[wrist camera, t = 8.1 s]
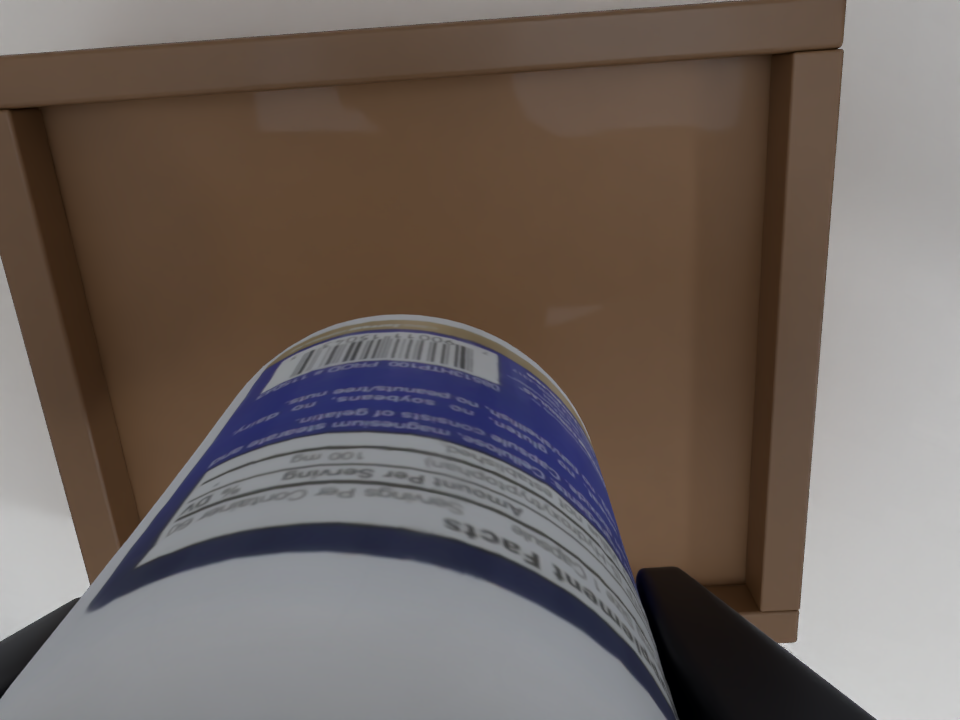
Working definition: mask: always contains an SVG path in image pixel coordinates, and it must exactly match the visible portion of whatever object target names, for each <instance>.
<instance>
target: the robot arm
mask: <svg viewBox="0 0 960 720" xmlns="http://www.w3.org/2000/svg"><path fill="white" fill-rule="evenodd" d="M636 587H637V591H638V594H639V597H640V601H641V604H642V607H643V609H644V611H645V614H646V617H647V620H648V623H649V626H650V629H651V632H652V635H653V638H654V641H655V644H656V647H657V651H658V655H659V659H660V662H661V666H662V669H663V672H664V676H665V679H666V681H667V684H668V686H669V689H670V692H671V696H672V699H673V702H674V706H675V709H676V712H677V715H678V718H679V720H876V719H875V718H874V717H873V716H871V715H870V714H869V713H867V712H866V711H865V710H864V709H862V708H861V707H860V706H858V705H857V704H856V703H854V702H853V701H852V700H851V699H849V698H848V697H847V696H845V695H844V694H843V693H841V692H840V691H839V690H838V689H836V688H835V687H834V686H832V685H831V684H830V683H828V682H827V681H826V680H825V679H823V678H822V677H821V676H819V675H818V674H817V673H815V672H814V671H813V670H812V669H810V668H809V667H808V666H806V665H805V664H804V663H802V662H801V661H800V660H799V659H797V658H796V657H795V656H793V655H792V654H791V653H789V652H788V651H787V650H786V649H784V648H783V647H782V646H780V645H779V644H778V643H777V642H775V641H774V640H773V639H771V638H770V637H769V636H767V635H766V634H765V633H764V632H762V631H761V630H760V629H758V628H757V627H756V626H754V625H753V624H752V623H751V622H749V621H748V620H747V619H745V618H744V617H743V616H741V615H740V614H739V613H738V612H736V611H735V610H734V609H732V608H731V607H730V606H728V605H727V604H726V603H725V602H723V601H722V600H721V599H719V598H718V597H717V596H715V595H714V594H713V593H712V592H710V591H709V590H708V589H706V588H705V587H704V586H703V585H701V584H700V583H699V582H697V581H696V580H695V579H693V578H692V577H691V576H690V575H688V574H687V573H686V572H684V571H683V570H682V569H680V568H678V567H674V566H671V567H653V568H642V569H640V570H639V571H638V573H637V576H636ZM80 598H81V597H80ZM80 598H76V599H74V600H72V601H70V602H68V603H67V604H65V605H63V606H61V607H60V608H58V609H56V610H54V611H53V612H51V613H49V614H47V615H46V616H44V617H42V618H40V619H39V620H37V621H35V622H34V623H32V624H30V625H28V626H27V627H25V628H23V629H21V630H20V631H18V632H16V633H14V634H13V635H11V636H9V637H7V638H6V639H4V640H2V641H1V642H0V699H1V698H2V696H3V695H4V694H5V692H6V691H7V689H8V688H9V687H10V685H11V684H12V683H13V682H14V680H15V679H16V678H17V677H18V675H19V674H20V673H21V672H22V670H23V669H24V668H25V667H26V665H27V664H28V663H29V662H30V660H31V659H32V658H33V657H34V656H35V654H36V653H37V652H38V651H39V649H40V648H41V647H42V646H43V644H44V643H45V642H46V641H47V639H48V638H49V637H50V636H51V634H52V633H53V632H54V631H55V629H56V628H57V627H58V626H59V624H60V623H61V622H62V621H63V619H64V618H65V617H66V616H67V614H68V613H69V612H70V611H71V609H72V608H73V607H74V606H75V604H76V603H77V602H78V601H79V599H80Z"/></svg>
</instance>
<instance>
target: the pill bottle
mask: <svg viewBox="0 0 960 720" xmlns="http://www.w3.org/2000/svg"><path fill="white" fill-rule="evenodd" d="M0 720H679V718H678V715H677V712H676V709H675V706H674V702H673V699H672V696H671V692H670V689H669V686H668V684H667V681H666V679H665V676H664V672H663V669H662V666H661V662H660V659H659V655H658V651H657V647H656V644H655V641H654V638H653V635H652V632H651V629H650V626H649V623H648V620H647V617H646V614H645V611H644V609H643V607H642V604H641V601H640V597H639V594H638V591H637V587H636V584H635V581H634V577H633V574H632V571H631V568H630V565H629V561H628V558H627V555H626V552H625V549H624V546H623V543H622V539H621V536H620V533H619V529H618V526H617V523H616V519H615V516H614V513H613V509H612V506H611V503H610V499H609V496H608V493H607V489H606V486H605V483H604V480H603V477H602V473H601V470H600V467H599V464H598V461H597V458H596V455H595V452H594V449H593V446H592V443H591V440H590V437H589V435H588V433H587V430H586V428H585V426H584V424H583V422H582V420H581V418H580V416H579V415H578V413H577V411H576V409H575V407H574V406H573V404H572V403H571V401H570V400H569V399H568V397H567V396H566V394H565V393H564V392H563V391H562V390H561V388H560V387H559V386H558V385H557V383H556V382H555V381H554V380H553V379H552V378H551V377H550V376H549V375H548V374H547V373H546V372H545V371H544V370H543V369H542V368H541V367H540V366H539V365H538V364H537V363H535V362H534V361H533V360H531V359H530V358H529V357H527V356H526V355H525V354H523V353H522V352H521V351H519V350H518V349H516V348H515V347H513V346H512V345H510V344H508V343H507V342H505V341H503V340H501V339H499V338H497V337H496V336H493V335H491V334H489V333H487V332H485V331H483V330H480V329H477V328H474V327H472V326H469V325H466V324H463V323H459V322H455V321H451V320H447V319H442V318H436V317H429V316H422V315H405V314H396V315H379V316H371V317H365V318H358V319H354V320H350V321H346V322H343V323H339V324H335V325H333V326H330V327H327V328H325V329H322V330H320V331H317V332H315V333H313V334H311V335H309V336H307V337H306V338H304V339H302V340H300V341H299V342H297V343H295V344H293V345H292V346H290V347H288V348H287V349H285V350H284V351H283V352H281V353H280V354H279V355H277V356H276V357H275V358H273V359H272V360H271V361H270V362H268V363H267V364H266V365H264V366H263V367H262V368H261V369H260V370H259V371H258V372H257V373H256V374H255V375H254V376H253V378H252V379H251V380H250V381H249V382H248V383H247V384H246V385H245V386H244V387H243V389H242V390H241V391H240V392H239V394H238V395H237V396H236V397H235V399H234V400H233V401H232V403H231V404H230V405H229V407H228V408H227V409H226V411H225V412H224V413H223V415H222V416H221V418H220V419H219V420H218V422H217V423H216V424H215V426H214V427H213V428H212V430H211V431H210V432H209V434H208V435H207V436H206V438H205V439H204V441H203V442H202V443H201V445H200V446H199V447H198V449H197V450H196V451H195V453H194V454H193V455H192V456H191V458H190V459H189V460H188V462H187V463H186V464H185V466H184V467H183V468H182V470H181V471H180V472H179V473H178V475H177V476H176V477H175V479H174V480H173V481H172V483H171V484H170V485H169V487H168V488H167V489H166V491H165V492H164V493H163V494H162V496H161V497H160V498H159V500H158V501H157V502H156V503H155V505H154V506H153V507H152V509H151V510H150V511H149V512H148V514H147V515H146V516H145V518H144V519H143V520H142V521H141V523H140V524H139V525H138V527H137V528H136V529H135V530H134V532H133V533H132V534H131V536H130V537H129V538H128V539H127V541H126V542H125V543H124V544H123V545H122V547H121V548H120V549H119V550H118V551H117V553H116V554H115V555H114V556H113V558H112V559H111V560H110V561H109V563H108V564H107V565H106V567H105V568H104V569H103V570H102V572H101V573H100V574H99V575H98V577H97V578H96V579H95V580H94V582H93V583H92V584H91V585H90V587H89V588H88V589H87V591H86V592H85V593H84V594H83V596H82V597H81V598H80V599H79V601H78V602H77V603H76V604H75V606H74V607H73V608H72V609H71V611H70V612H69V613H68V614H67V616H66V617H65V618H64V619H63V621H62V622H61V623H60V624H59V626H58V627H57V628H56V629H55V631H54V632H53V633H52V634H51V636H50V637H49V638H48V639H47V641H46V642H45V643H44V644H43V646H42V647H41V648H40V649H39V651H38V652H37V653H36V654H35V656H34V657H33V658H32V659H31V660H30V662H29V663H28V664H27V665H26V667H25V668H24V669H23V670H22V672H21V673H20V674H19V675H18V677H17V678H16V679H15V680H14V682H13V683H12V684H11V685H10V687H9V688H8V689H7V691H6V692H5V694H4V695H3V696H2V698H1V699H0Z"/></svg>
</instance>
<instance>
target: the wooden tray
mask: <svg viewBox="0 0 960 720" xmlns="http://www.w3.org/2000/svg"><path fill="white" fill-rule="evenodd" d="M845 12H846V0H741V1H727V2H714V3H700V4H687V5H674V6H660V7H647V8H633V9H620V10H606V11H593V12H579V13H566V14H552V15H539V16H526V17H512V18H499V19H485V20H472V21H458V22H445V23H431V24H418V25H405V26H391V27H378V28H364V29H351V30H337V31H324V32H310V33H297V34H283V35H270V36H257V37H243V38H230V39H216V40H203V41H189V42H176V43H162V44H149V45H136V46H122V47H109V48H95V49H82V50H68V51H55V52H41V53H28V54H14V55H1V56H0V255H1V259H2V263H3V266H4V270H5V274H6V277H7V281H8V285H9V288H10V292H11V296H12V299H13V303H14V307H15V310H16V314H17V318H18V321H19V325H20V329H21V332H22V336H23V340H24V343H25V347H26V351H27V354H28V358H29V362H30V365H31V369H32V373H33V376H34V380H35V384H36V387H37V391H38V395H39V398H40V402H41V406H42V409H43V413H44V417H45V420H46V424H47V428H48V431H49V435H50V439H51V442H52V446H53V450H54V453H55V457H56V461H57V464H58V468H59V472H60V475H61V479H62V483H63V486H64V490H65V494H66V497H67V501H68V505H69V508H70V512H71V516H72V519H73V523H74V527H75V530H76V534H77V538H78V541H79V545H80V549H81V552H82V556H83V560H84V563H85V567H86V571H87V574H88V578H89V582H90V585H91V584H92V583H93V582H94V580H95V579H96V578H97V577H98V575H99V574H100V573H101V572H102V570H103V569H104V568H105V567H106V565H107V564H108V563H109V561H110V560H111V559H112V558H113V556H114V555H115V554H116V553H117V551H118V550H119V549H120V548H121V547H122V545H123V544H124V543H125V542H126V541H127V539H128V538H129V537H130V536H131V534H132V533H133V532H134V530H135V529H136V528H137V527H138V525H139V524H140V523H141V521H142V520H143V519H144V518H145V516H146V515H147V514H148V512H149V511H150V510H151V509H152V507H153V506H154V505H155V503H156V502H157V501H158V500H159V498H160V497H161V496H162V494H163V493H164V492H165V491H166V489H167V488H168V487H169V485H170V484H171V483H172V481H173V480H174V479H175V477H176V476H177V475H178V473H179V472H180V471H181V470H182V468H183V467H184V466H185V464H186V463H187V462H188V460H189V459H190V458H191V456H192V455H193V454H194V453H195V451H196V450H197V449H198V447H199V446H200V445H201V443H202V442H203V441H204V439H205V438H206V436H207V435H208V434H209V432H210V431H211V430H212V428H213V427H214V426H215V424H216V423H217V422H218V420H219V419H220V418H221V416H222V415H223V413H224V412H225V411H226V409H227V408H228V407H229V405H230V404H231V403H232V401H233V400H234V399H235V397H236V396H237V395H238V394H239V392H240V391H241V390H242V389H243V387H244V386H245V385H246V384H247V383H248V382H249V381H250V380H251V379H252V378H253V376H254V375H255V374H256V373H257V372H258V371H259V370H260V369H261V368H262V367H263V366H264V365H266V364H267V363H268V362H270V361H271V360H272V359H273V358H275V357H276V356H277V355H279V354H280V353H281V352H283V351H284V350H285V349H287V348H288V347H290V346H292V345H293V344H295V343H297V342H299V341H300V340H302V339H304V338H306V337H307V336H309V335H311V334H313V333H315V332H317V331H320V330H322V329H325V328H327V327H330V326H333V325H335V324H339V323H343V322H346V321H350V320H354V319H358V318H365V317H371V316H379V315H396V314H405V315H422V316H429V317H436V318H442V319H447V320H451V321H455V322H459V323H463V324H466V325H469V326H472V327H474V328H477V329H480V330H483V331H485V332H487V333H489V334H491V335H493V336H496V337H497V338H499V339H501V340H503V341H505V342H507V343H508V344H510V345H512V346H513V347H515V348H516V349H518V350H519V351H521V352H522V353H523V354H525V355H526V356H527V357H529V358H530V359H531V360H533V361H534V362H535V363H537V364H538V365H539V366H540V367H541V368H542V369H543V370H544V371H545V372H546V373H547V374H548V375H549V376H550V377H551V378H552V379H553V380H554V381H555V382H556V383H557V385H558V386H559V387H560V388H561V390H562V391H563V392H564V393H565V394H566V396H567V397H568V399H569V400H570V401H571V403H572V404H573V406H574V407H575V409H576V411H577V413H578V415H579V416H580V418H581V420H582V422H583V424H584V426H585V428H586V430H587V433H588V435H589V437H590V440H591V443H592V446H593V449H594V452H595V455H596V458H597V461H598V464H599V467H600V470H601V473H602V477H603V480H604V483H605V486H606V489H607V493H608V496H609V499H610V503H611V506H612V509H613V513H614V516H615V519H616V523H617V526H618V529H619V533H620V536H621V539H622V543H623V546H624V549H625V552H626V555H627V558H628V561H629V565H630V568H631V571H632V574H633V577H634V581H635V584H636V576H637V573H638V571H639V570H640V569H642V568H653V567H671V566H674V567H678V568H680V569H682V570H683V571H684V572H686V573H687V574H688V575H690V576H691V577H692V578H693V579H695V580H696V581H697V582H699V583H700V584H701V585H703V586H704V587H705V588H706V589H708V590H709V591H710V592H712V593H713V594H714V595H715V596H717V597H718V598H719V599H721V600H722V601H723V602H725V603H726V604H727V605H728V606H730V607H731V608H732V609H734V610H735V611H736V612H738V613H739V614H740V615H741V616H743V617H744V618H745V619H747V620H748V621H749V622H751V623H752V624H753V625H754V626H756V627H757V628H758V629H760V630H761V631H762V632H764V633H765V634H766V635H767V636H769V637H770V638H771V639H773V640H774V641H775V642H777V643H792V642H796V640H797V630H798V618H799V609H800V600H801V587H802V574H803V562H804V549H805V536H806V523H807V511H808V498H809V485H810V473H811V460H812V447H813V435H814V422H815V409H816V396H817V384H818V371H819V358H820V346H821V333H822V320H823V307H824V295H825V282H826V269H827V257H828V244H829V231H830V218H831V206H832V193H833V180H834V168H835V155H836V142H837V130H838V117H839V104H840V91H841V79H842V66H843V53H844V52H843V50H842V49H838V48H840V47H841V46H842V44H843V37H844V24H845Z"/></svg>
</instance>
